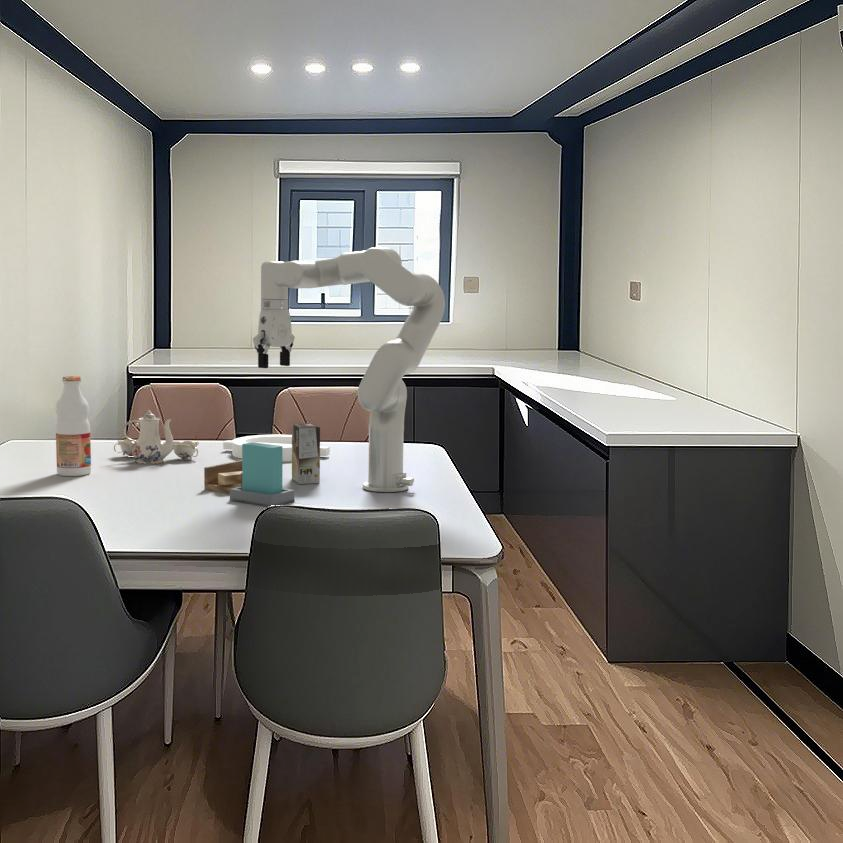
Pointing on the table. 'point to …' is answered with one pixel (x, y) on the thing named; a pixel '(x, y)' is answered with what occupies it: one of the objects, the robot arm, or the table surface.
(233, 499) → the charcoal tray
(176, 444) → the chinaware
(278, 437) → the white circle with bar
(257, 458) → the teal sheet
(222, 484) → the offcut lower
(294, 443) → the coffee box
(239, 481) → the offcut upper
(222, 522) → the table surface
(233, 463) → the offcut rack
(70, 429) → the fruit juice
